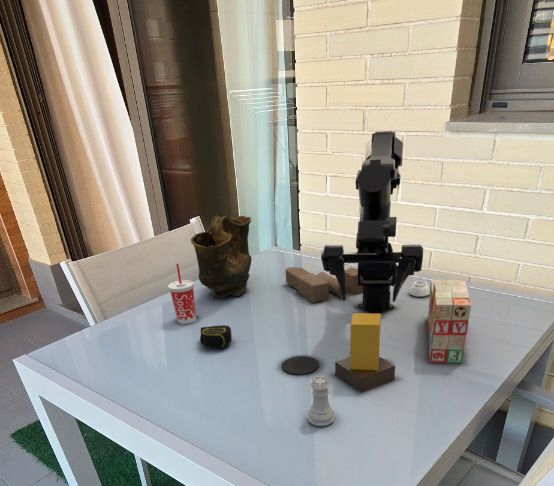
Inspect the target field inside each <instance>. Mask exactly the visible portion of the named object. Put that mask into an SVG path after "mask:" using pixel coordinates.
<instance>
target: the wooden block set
mask: <svg viewBox="0 0 554 486" xmlns="http://www.w3.org/2000/svg"><path fill="white" fill-rule="evenodd" d="M284 271H285V283H287V284H288V285H289V286H292V287H293V288H294V289H296V290H297V292H298V294H300V295H301V296H303V297H304V298H306V299H307V300H309V301H310V302H311V303H313V304H315V303H319V302H323V301H327V300H329V298H330V294H329V293H330V292H329V291H331V292H332V293H333V294H335V295H337V296H338V297H341V298H342V294H341V290H340V286H339V283H338V281H337V278H336V277H334V276H333V275H331V274H328V273H326V271H320V272H318V273H317V274H315V273H313V272H310V271H308V270H306V269H304V268H303V267H297V266H296V267H295V266H291V267H286V268H285V270H284ZM345 283H346V295H348V293H350V294H351V295H356V294H360V293H363V286H358V268H356V267H349V268H347V269H345Z"/></svg>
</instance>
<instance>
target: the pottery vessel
mask: <svg viewBox="0 0 554 486" xmlns="http://www.w3.org/2000/svg"><path fill="white" fill-rule="evenodd" d="M251 222H252V217H250V216H245V215H239V216H232V217H229V216H227V215H225V216H222V217H221V216H220V215H215V216H213V218H212V220H211V223H210V225H209V227H208V228H207V230H206V231H201V232H198V233H195V234H194V236H192V237H191V238H190V243H191V245H193V247H194V251H195V255H196V261H197V266H198V279H199V282H200V283H201V285H203V286H204V287H206V288H207V289H209V290H211V291H210V295H211V297H212V298H213V299H218V298H223V299H225V298H226V297H227V296H228V295H232V296H236V297H240V296H241V295H243V294H244V293H246V291H248V287H247V283H248V281H249V279H250V269H251V266H252V256H251V255H250V251H249V233H250V224H251Z"/></svg>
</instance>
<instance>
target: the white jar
mask: <svg viewBox="0 0 554 486" xmlns="http://www.w3.org/2000/svg"><path fill="white" fill-rule="evenodd" d="M409 294H410V295H411V296H413V297H417V298H420V297H421V298H422V297H426V296H430V286H429V285H428V282H427V281H425V280H416V281H414V282H413V285H411V287H410V289H409Z"/></svg>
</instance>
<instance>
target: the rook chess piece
mask: <svg viewBox="0 0 554 486" xmlns="http://www.w3.org/2000/svg"><path fill="white" fill-rule="evenodd" d="M309 384H310V385H309V386H310V387H311V389H312V391H311V394H312V397H313V398H312V400H313V401H312V405H311V406H310V409H308V414H307V415H308V417H307V420H308V422H309V423H310V424H311V425H312V426H314V427H319V428H320V427H323V428H324V427H328V426H329V425H331V424H332V423H333V421H334V420H335V416H334V415H335V412H334V409H333V407H332V406H331V405H330V401H329V394H330V391H329V388H330V387H331V383H330V381H329V377H327V376H325V375H321V377H320V375H316V376H315V377H313V378H312V381H311V383H309Z"/></svg>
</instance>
